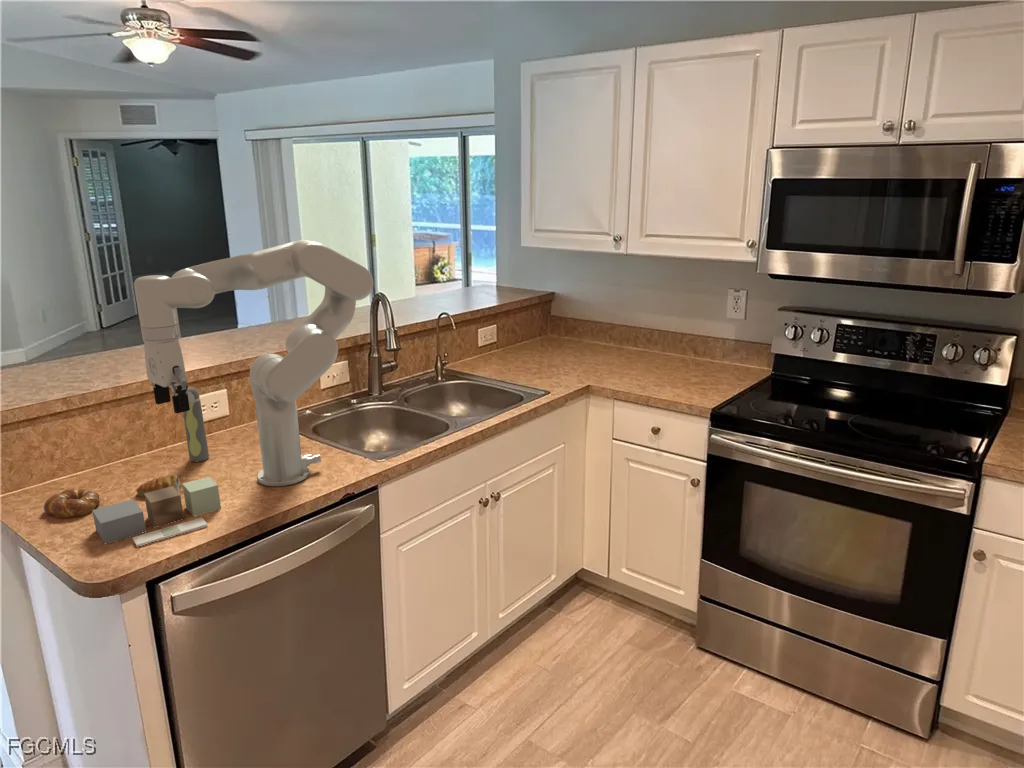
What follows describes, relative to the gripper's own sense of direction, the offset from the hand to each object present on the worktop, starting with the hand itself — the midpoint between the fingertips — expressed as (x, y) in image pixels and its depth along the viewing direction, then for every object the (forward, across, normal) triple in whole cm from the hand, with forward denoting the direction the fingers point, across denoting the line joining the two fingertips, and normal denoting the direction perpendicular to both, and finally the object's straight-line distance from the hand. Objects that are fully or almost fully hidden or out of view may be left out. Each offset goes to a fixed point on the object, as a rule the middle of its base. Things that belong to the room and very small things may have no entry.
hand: (172, 407), depth 159 cm
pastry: (+24, -10, -2) cm, 26 cm away
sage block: (+23, +7, +1) cm, 24 cm away
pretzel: (+24, -16, -19) cm, 34 cm away
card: (+23, +13, -9) cm, 28 cm away
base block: (+23, +4, -16) cm, 29 cm away
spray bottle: (+23, -23, +14) cm, 35 cm away
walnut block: (+23, +5, -7) cm, 25 cm away
